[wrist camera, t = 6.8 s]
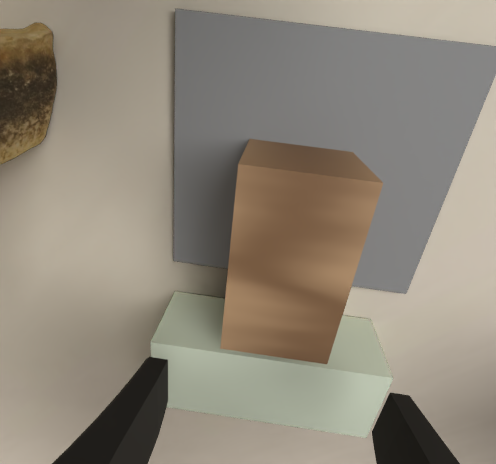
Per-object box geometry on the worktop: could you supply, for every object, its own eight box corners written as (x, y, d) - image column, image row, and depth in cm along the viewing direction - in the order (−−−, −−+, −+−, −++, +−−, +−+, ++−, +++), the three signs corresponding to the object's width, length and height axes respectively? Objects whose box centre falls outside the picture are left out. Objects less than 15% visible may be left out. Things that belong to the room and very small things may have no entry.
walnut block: (315, 297, 15) (352, 151, 12) (327, 364, 12) (383, 183, 9) (233, 285, 16) (249, 138, 12) (220, 348, 12) (238, 163, 9)
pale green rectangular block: (370, 319, 16) (393, 378, 13) (350, 374, 18) (366, 438, 15) (174, 291, 16) (150, 342, 13) (174, 348, 18) (152, 405, 15)
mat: (501, 48, 11) (506, 47, 10) (403, 289, 15) (406, 293, 15) (177, 10, 11) (175, 8, 11) (175, 257, 15) (173, 261, 15)
